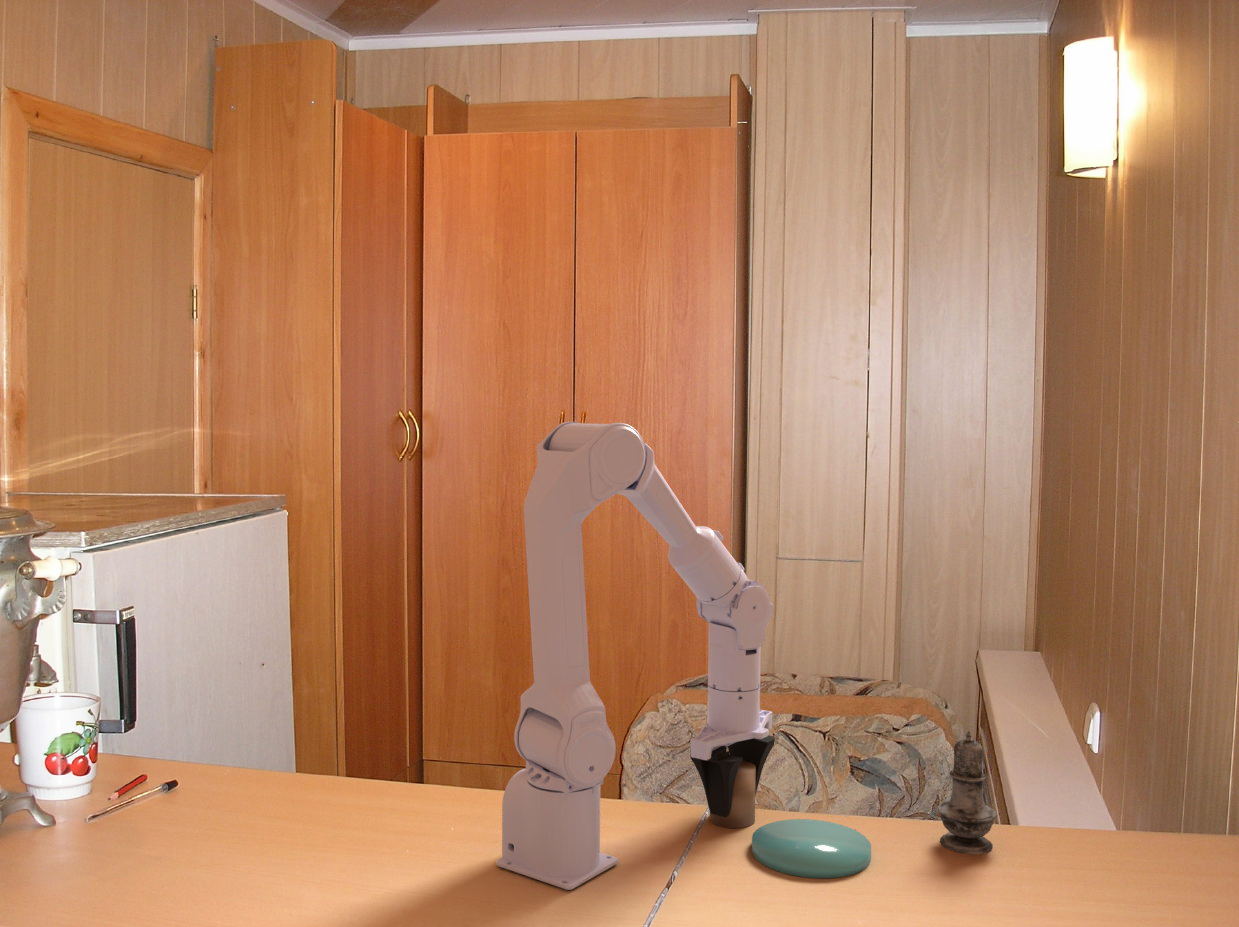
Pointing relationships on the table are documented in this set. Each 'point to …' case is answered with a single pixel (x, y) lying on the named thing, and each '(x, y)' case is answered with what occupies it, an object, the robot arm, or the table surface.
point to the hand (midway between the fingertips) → (732, 806)
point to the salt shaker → (967, 802)
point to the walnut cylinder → (740, 799)
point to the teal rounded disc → (811, 848)
